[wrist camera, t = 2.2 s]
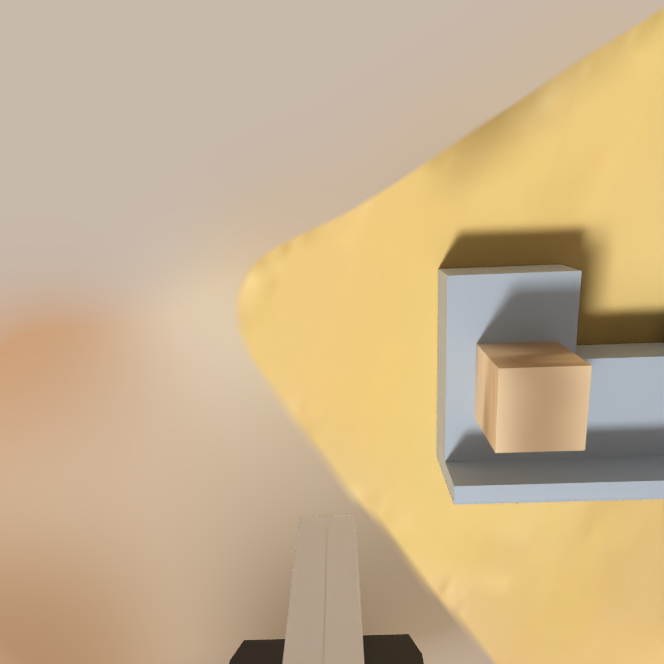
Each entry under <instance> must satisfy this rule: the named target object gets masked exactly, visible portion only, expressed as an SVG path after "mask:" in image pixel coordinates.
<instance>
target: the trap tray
mask: <svg viewBox="0 0 664 664" xmlns="http://www.w3.org/2000/svg"><path fill="white" fill-rule="evenodd" d="M581 275H582V271H581V270H578V269H575V268H572V267H569V266H566V265H563V264H552V265H525V266H498V267H471V268H444V269H438V368H437V459H438V462H439V465H440V467H441V470H442V473H443V476H444V478H445V481H446V484H447V487H448V489H449V492H450V495H451V498H452V500H453V503H454V504H492V503H529V502H567V501H605V500H643V499H664V342H656V343H626V344H596V345H576V342H577V328H578V315H579V301H580V288H581ZM540 341H557V342H559V343H560V344H562V345H563V346H565V347H566V348H567V349H569V350H570V351H572V352H573V353H575V354H576V355H578V356H579V357H580V358H582V359H583V360H585V361H586V362H588V363H589V364H591V365H592V372H591V384H590V396H589V409H588V421H587V433H586V445H585V450H582V451H547V452H513V453H495V452H494V450H493V448H492V446H491V445H490V443H489V441H488V440H487V438H486V436H485V435H484V433H483V431H482V430H481V428H480V426H479V425H478V423H477V421H476V419H475V418H474V410H475V373H476V344H481V343H510V342H540Z"/></svg>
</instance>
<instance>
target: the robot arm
mask: <svg viewBox="0 0 664 664" xmlns="http://www.w3.org/2000/svg"><path fill="white" fill-rule="evenodd" d="M359 583H360V582H359V566H358V549H357V532H356V516H355V514H351V515H319V516H299V522H298V531H297V539H296V549H295V557H294V566H293V575H292V584H291V593H290V601H289V612H288V620H287V628H286V637H285V639H276V640H244V641H243V643H242V644H241V646H240V647H239V648H238V650H237V651H236V653H235V654H234V656H233V657H232V659H231V660H230V663H229V664H424V663H423V658H422V653H421V652H420V651H419V649H418V648H417V646H416V645H415V643H414V642H413V640H412V639H411V637H410V636H409V635H408V634H403V635H367V636H366V635H365V636H363V632H362V616H361V599H360V584H359Z"/></svg>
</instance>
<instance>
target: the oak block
mask: <svg viewBox="0 0 664 664" xmlns="http://www.w3.org/2000/svg"><path fill="white" fill-rule="evenodd" d="M591 372H592V365H591V364H589V363H588V362H586V361H585V360H583V359H582V358H580V357H579V356H578V355H576V354H575V353H573V352H572V351H570V350H569V349H567V348H566V347H565V346H563V345H562V344H560V343H559V342H557V341H540V342H510V343H481V344H476V373H475V410H474V418H475V419H476V421H477V423H478V425H479V426H480V428H481V430H482V431H483V433H484V435H485V436H486V438H487V440H488V441H489V443H490V445H491V446H492V448H493V450H494V452H495V453H513V452H547V451H582V450H585V445H586V433H587V421H588V409H589V396H590V384H591Z"/></svg>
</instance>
